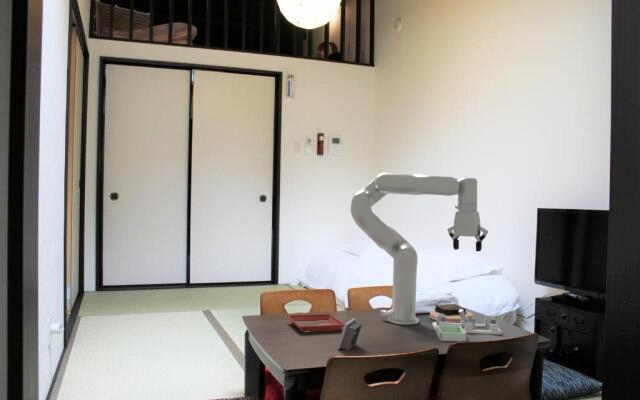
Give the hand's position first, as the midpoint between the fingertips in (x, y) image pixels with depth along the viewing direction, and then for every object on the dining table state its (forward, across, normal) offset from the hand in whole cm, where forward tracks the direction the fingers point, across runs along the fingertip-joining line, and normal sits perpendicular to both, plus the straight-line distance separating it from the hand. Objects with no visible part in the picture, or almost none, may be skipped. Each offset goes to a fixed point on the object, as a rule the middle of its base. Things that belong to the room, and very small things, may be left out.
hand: (467, 250), depth 218 cm
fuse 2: (+31, +11, -1) cm, 33 cm away
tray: (+30, +4, -22) cm, 38 cm away
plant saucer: (+30, -40, -48) cm, 69 cm away
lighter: (+31, +3, -6) cm, 32 cm away
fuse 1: (+30, -5, -12) cm, 33 cm away
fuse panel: (+31, +3, -6) cm, 31 cm away
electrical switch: (+30, -14, -60) cm, 68 cm away
